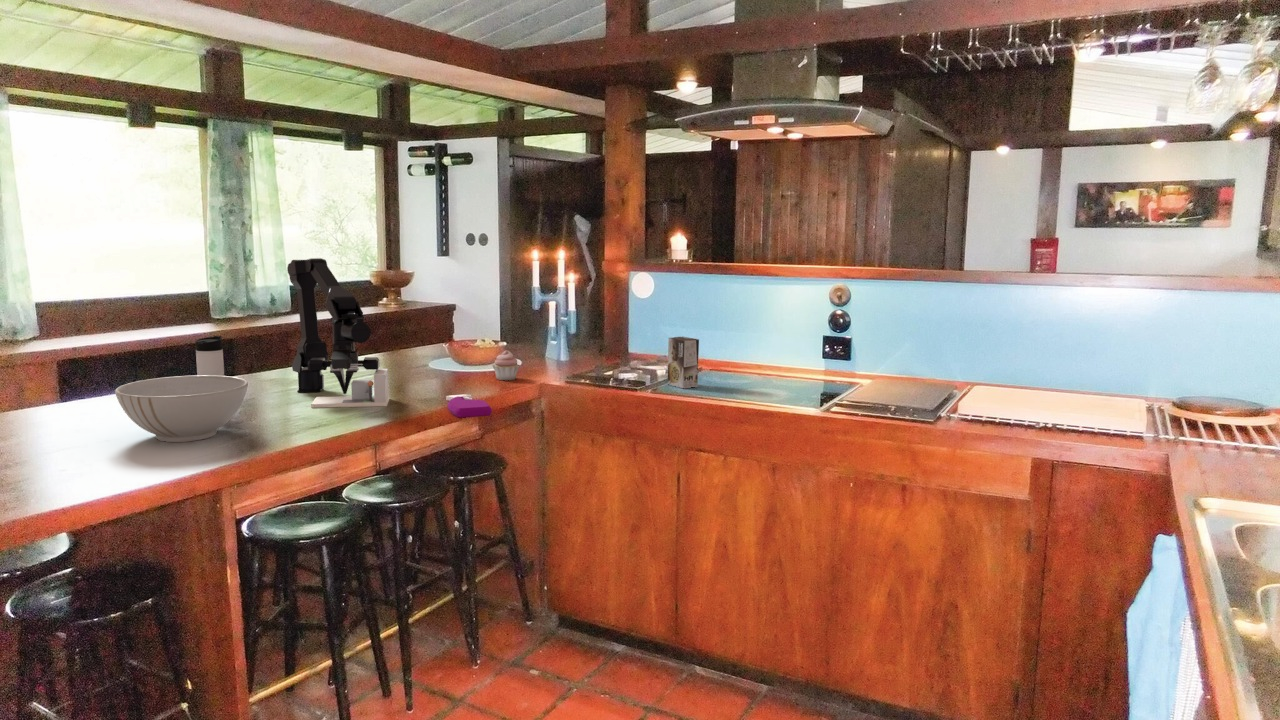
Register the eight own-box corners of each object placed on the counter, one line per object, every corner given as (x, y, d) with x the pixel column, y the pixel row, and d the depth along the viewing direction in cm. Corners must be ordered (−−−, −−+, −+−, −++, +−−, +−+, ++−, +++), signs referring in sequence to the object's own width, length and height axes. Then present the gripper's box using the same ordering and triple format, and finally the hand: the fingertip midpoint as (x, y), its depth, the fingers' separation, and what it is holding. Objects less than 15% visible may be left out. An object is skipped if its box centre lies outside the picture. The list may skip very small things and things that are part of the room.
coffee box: (698, 387, 264) (700, 339, 261) (682, 389, 260) (684, 340, 258) (681, 382, 271) (683, 336, 269) (666, 384, 267) (667, 336, 265)
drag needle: (367, 400, 223) (367, 381, 223) (368, 398, 226) (367, 380, 225) (373, 400, 224) (373, 381, 223) (374, 398, 226) (373, 380, 225)
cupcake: (487, 380, 266) (487, 351, 264) (498, 376, 275) (498, 347, 273) (514, 382, 264) (514, 352, 262) (524, 377, 273) (524, 349, 271)
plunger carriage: (350, 402, 222) (349, 385, 221) (353, 396, 230) (353, 379, 229) (369, 401, 223) (368, 385, 222) (372, 395, 231) (371, 379, 230)
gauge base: (311, 407, 219) (309, 375, 217) (316, 400, 228) (315, 369, 227) (386, 405, 224) (386, 374, 222) (389, 398, 233) (388, 368, 232)
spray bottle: (454, 419, 211) (438, 402, 233) (495, 417, 215) (475, 400, 238) (454, 408, 211) (438, 392, 233) (495, 406, 215) (475, 390, 237)
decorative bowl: (107, 455, 169) (103, 399, 167) (130, 426, 193) (126, 378, 192) (247, 445, 180) (244, 392, 178) (252, 419, 204) (250, 373, 202)
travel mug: (232, 410, 213) (228, 336, 210) (212, 415, 207) (207, 339, 204) (214, 408, 215) (210, 335, 212) (194, 412, 209) (189, 337, 206)
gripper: (303, 343, 214) (305, 399, 217) (375, 343, 219) (377, 398, 221) (310, 338, 225) (311, 392, 227) (379, 337, 229) (380, 390, 232)
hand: (345, 393), depth 227 cm, fingers closed
